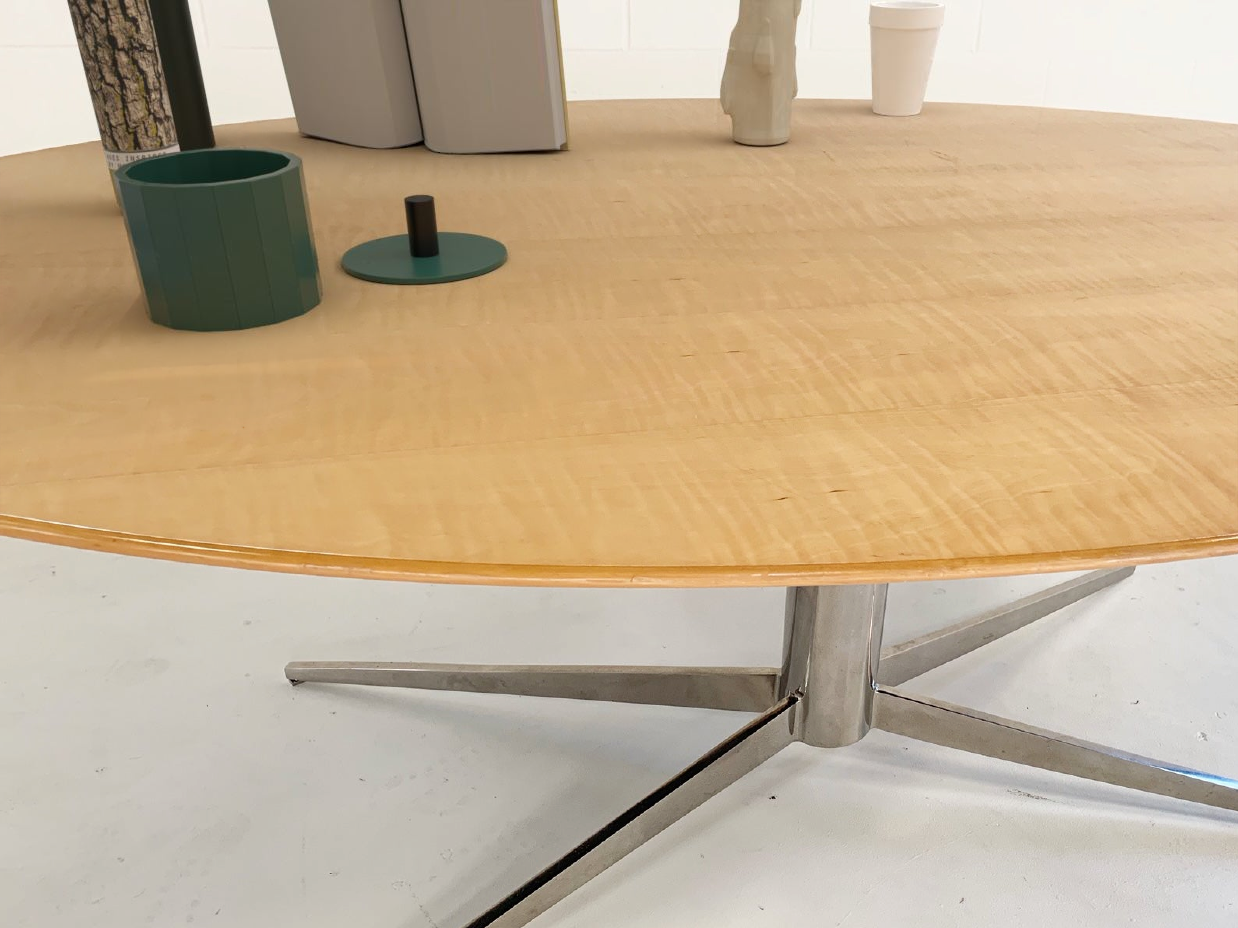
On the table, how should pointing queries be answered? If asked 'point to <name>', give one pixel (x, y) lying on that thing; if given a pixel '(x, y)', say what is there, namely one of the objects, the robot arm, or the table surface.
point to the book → (426, 73)
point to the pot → (220, 237)
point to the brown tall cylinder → (124, 79)
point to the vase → (761, 71)
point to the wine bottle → (182, 73)
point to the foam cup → (902, 53)
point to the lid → (424, 252)
